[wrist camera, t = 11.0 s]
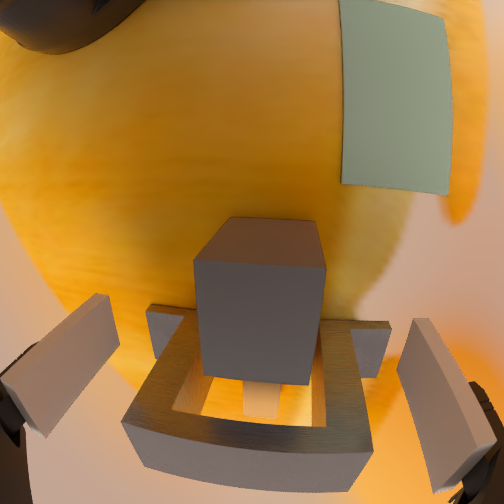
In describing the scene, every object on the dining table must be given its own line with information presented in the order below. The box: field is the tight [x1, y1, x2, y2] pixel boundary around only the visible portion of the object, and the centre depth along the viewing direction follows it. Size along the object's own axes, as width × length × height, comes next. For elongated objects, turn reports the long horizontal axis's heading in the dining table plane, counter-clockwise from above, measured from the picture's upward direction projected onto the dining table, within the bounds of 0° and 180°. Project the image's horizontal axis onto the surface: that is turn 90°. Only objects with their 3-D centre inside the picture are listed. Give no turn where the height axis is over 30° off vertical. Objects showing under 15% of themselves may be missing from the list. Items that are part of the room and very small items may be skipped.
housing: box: [121, 304, 392, 493], centre depth 16 cm, size 4×17×10 cm, turn 90°
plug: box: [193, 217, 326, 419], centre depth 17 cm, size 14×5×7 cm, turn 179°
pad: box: [339, 0, 453, 196], centre depth 14 cm, size 12×7×1 cm, turn 0°
